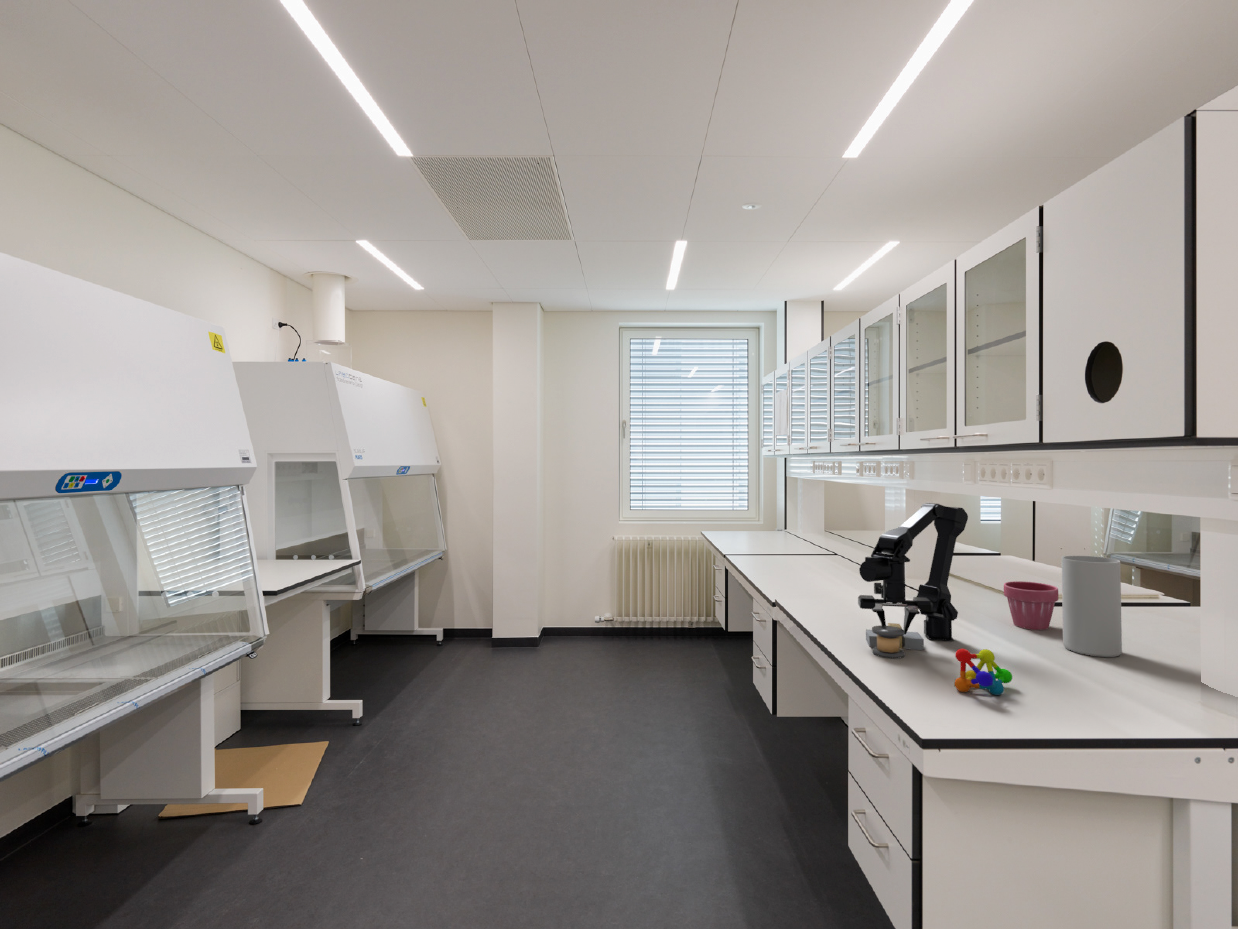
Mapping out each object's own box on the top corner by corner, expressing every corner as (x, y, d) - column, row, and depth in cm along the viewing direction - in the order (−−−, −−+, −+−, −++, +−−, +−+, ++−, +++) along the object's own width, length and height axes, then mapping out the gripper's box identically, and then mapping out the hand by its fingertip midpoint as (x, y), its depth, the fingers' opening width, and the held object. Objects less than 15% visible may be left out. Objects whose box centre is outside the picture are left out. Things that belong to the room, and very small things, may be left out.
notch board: (917, 642, 169) (917, 632, 169) (923, 650, 163) (923, 639, 163) (865, 639, 173) (865, 629, 173) (869, 646, 166) (869, 636, 166)
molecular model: (1019, 715, 129) (983, 683, 125) (972, 709, 138) (937, 679, 133) (1023, 667, 135) (989, 634, 130) (978, 664, 143) (944, 634, 138)
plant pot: (1044, 635, 175) (1043, 592, 175) (994, 624, 187) (994, 584, 187) (1068, 628, 182) (1067, 586, 182) (1019, 618, 194) (1018, 579, 194)
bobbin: (901, 650, 163) (900, 626, 163) (907, 659, 155) (907, 634, 155) (870, 648, 165) (869, 624, 165) (874, 657, 157) (874, 632, 157)
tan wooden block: (899, 644, 168) (899, 623, 168) (902, 649, 164) (901, 627, 164) (888, 644, 169) (887, 623, 169) (890, 648, 165) (890, 626, 165)
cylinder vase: (1134, 656, 155) (1132, 561, 155) (1096, 660, 153) (1094, 563, 153) (1087, 642, 167) (1086, 554, 167) (1051, 645, 165) (1050, 556, 165)
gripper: (923, 574, 172) (924, 627, 172) (855, 572, 177) (856, 624, 177) (933, 581, 161) (933, 638, 161) (860, 579, 166) (861, 634, 166)
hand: (894, 633), depth 166 cm, fingers open, 5 cm apart
